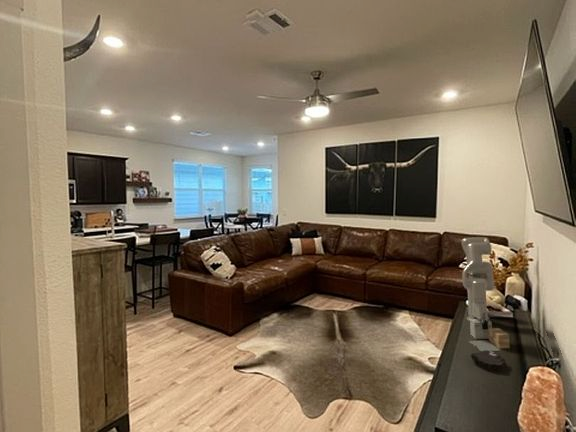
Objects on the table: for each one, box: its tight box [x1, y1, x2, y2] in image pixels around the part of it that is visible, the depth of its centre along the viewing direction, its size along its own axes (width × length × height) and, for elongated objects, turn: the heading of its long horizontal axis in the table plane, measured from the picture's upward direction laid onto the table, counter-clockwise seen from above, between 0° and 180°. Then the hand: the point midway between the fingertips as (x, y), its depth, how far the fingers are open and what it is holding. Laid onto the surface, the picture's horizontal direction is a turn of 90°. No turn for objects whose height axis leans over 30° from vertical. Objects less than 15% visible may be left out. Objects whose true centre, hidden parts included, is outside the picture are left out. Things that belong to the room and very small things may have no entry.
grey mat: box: [468, 339, 501, 352], centre depth 194 cm, size 14×11×1 cm
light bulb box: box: [469, 319, 493, 340], centre depth 206 cm, size 11×7×11 cm, turn 84°
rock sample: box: [470, 350, 507, 373], centre depth 173 cm, size 18×16×5 cm
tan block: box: [488, 327, 511, 349], centre depth 194 cm, size 10×6×8 cm, turn 178°
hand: (480, 326), depth 206 cm, fingers open, 9 cm apart
